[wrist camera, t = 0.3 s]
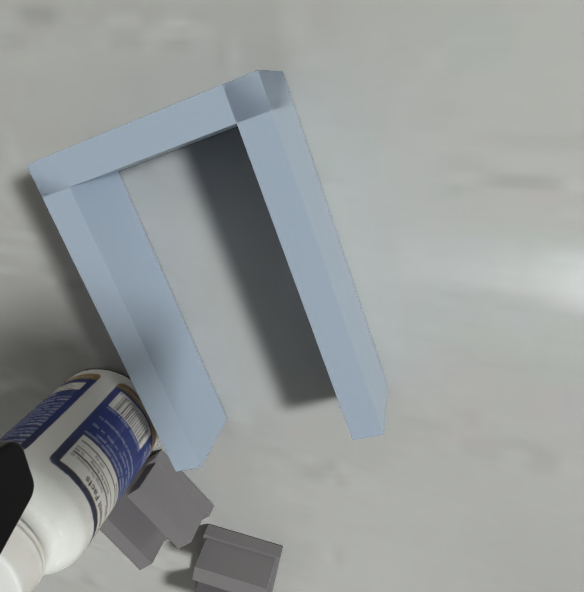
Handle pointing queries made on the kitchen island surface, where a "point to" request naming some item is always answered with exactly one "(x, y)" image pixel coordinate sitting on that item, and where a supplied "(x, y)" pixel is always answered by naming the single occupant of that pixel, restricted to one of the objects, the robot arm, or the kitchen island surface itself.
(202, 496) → the clip
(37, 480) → the pill bottle
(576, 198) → the kitchen island surface
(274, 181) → the end holder
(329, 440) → the kitchen island surface
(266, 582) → the clip
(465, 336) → the kitchen island surface
